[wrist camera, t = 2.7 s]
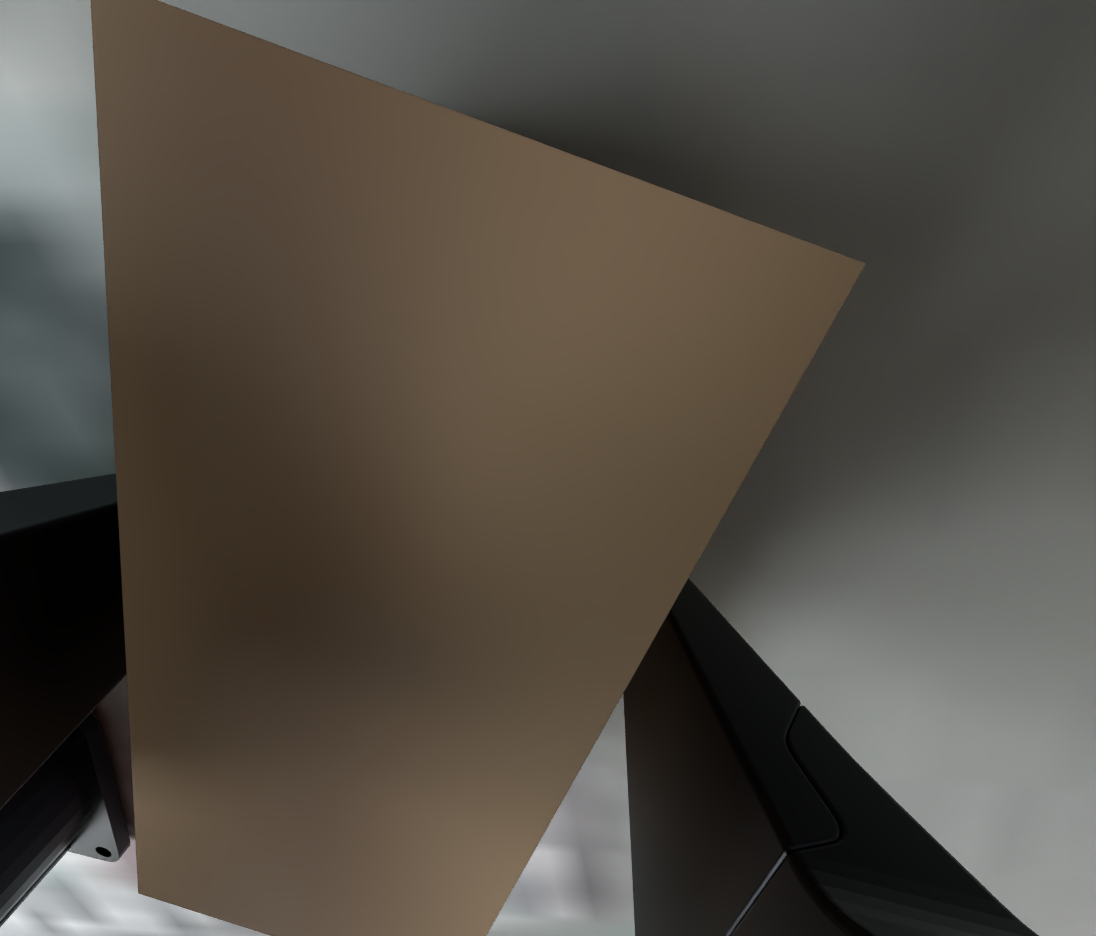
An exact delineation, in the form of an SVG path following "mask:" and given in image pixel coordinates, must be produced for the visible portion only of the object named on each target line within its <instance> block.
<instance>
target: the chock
mask: <svg viewBox="0 0 1096 936" xmlns="http://www.w3.org/2000/svg"><path fill="white" fill-rule="evenodd" d="M91 15H92V34H93V53H94V72H95V90H96V109H97V128H98V146H99V165H100V184H101V203H102V221H103V240H104V259H105V277H106V296H107V315H108V334H109V352H110V371H111V390H112V408H113V427H114V446H115V465H116V483H117V502H118V521H119V539H120V558H121V577H122V596H123V614H124V633H125V652H126V670H127V689H128V708H129V727H130V745H131V764H132V783H133V802H134V820H135V839H136V858H137V876H138V893H139V894H142V895H145V896H148V897H152V898H155V899H158V900H161V901H164V902H167V903H170V904H173V905H177V906H180V907H183V908H186V909H189V910H192V911H195V912H199V913H202V914H205V915H208V916H211V917H214V918H217V919H220V920H224V921H227V922H230V923H233V924H236V925H239V926H242V927H246V928H249V929H252V930H255V931H258V932H261V933H264V934H267V935H271V936H486V935H487V933H488V932H489V930H490V928H491V926H492V925H493V923H494V921H495V919H496V918H497V916H498V914H499V912H500V910H501V909H502V907H503V905H504V903H505V902H506V900H507V898H508V896H509V895H510V893H511V891H512V889H513V887H514V886H515V884H516V882H517V880H518V879H519V877H520V875H521V873H522V871H523V870H524V868H525V866H526V864H527V863H528V861H529V859H530V857H531V856H532V854H533V852H534V850H535V848H536V847H537V845H538V843H539V841H540V840H541V838H542V836H543V834H544V833H545V831H546V829H547V827H548V825H549V824H550V822H551V820H552V818H553V817H554V815H555V813H556V811H557V810H558V808H559V806H560V804H561V802H562V801H563V799H564V797H565V795H566V794H567V792H568V790H569V788H570V787H571V785H572V783H573V781H574V779H575V778H576V776H577V774H578V772H579V771H580V769H581V767H582V765H583V763H584V762H585V760H586V758H587V756H588V755H589V753H590V751H591V749H592V748H593V746H594V744H595V742H596V740H597V739H598V737H599V735H600V733H601V732H602V730H603V728H604V726H605V725H606V723H607V721H608V719H609V717H610V716H611V714H612V712H613V710H614V709H615V707H616V705H617V703H618V702H619V700H620V698H621V696H622V694H623V693H624V691H625V689H626V687H627V686H628V684H629V682H630V680H631V679H632V677H633V675H634V673H635V671H636V670H637V668H638V666H639V664H640V663H641V661H642V659H643V657H644V656H645V654H646V652H647V650H648V648H649V647H650V645H651V643H652V641H653V640H654V638H655V636H656V634H657V632H658V631H659V629H660V627H661V625H662V624H663V622H664V620H665V618H666V617H667V615H668V613H669V611H670V609H671V608H672V606H673V604H674V602H675V601H676V599H677V597H678V595H679V594H680V592H681V590H682V588H683V586H684V585H685V583H686V581H687V579H688V578H689V576H690V574H691V572H692V571H693V569H694V567H695V565H696V563H697V562H698V560H699V558H700V556H701V555H702V553H703V551H704V549H705V548H706V546H707V544H708V542H709V540H710V539H711V537H712V535H713V533H714V532H715V530H716V528H717V526H718V524H719V523H720V521H721V519H722V517H723V516H724V514H725V512H726V510H727V509H728V507H729V505H730V503H731V501H732V500H733V498H734V496H735V494H736V493H737V491H738V489H739V487H740V486H741V484H742V482H743V480H744V478H745V477H746V475H747V473H748V471H749V470H750V468H751V466H752V464H753V463H754V461H755V459H756V457H757V455H758V454H759V452H760V450H761V448H762V447H763V445H764V443H765V441H766V440H767V438H768V436H769V434H770V432H771V431H772V429H773V427H774V425H775V424H776V422H777V420H778V418H779V417H780V415H781V413H782V411H783V409H784V408H785V406H786V404H787V402H788V401H789V399H790V397H791V395H792V393H793V392H794V390H795V388H796V386H797V385H798V383H799V381H800V379H801V378H802V376H803V374H804V372H805V370H806V369H807V367H808V365H809V363H810V362H811V360H812V358H813V356H814V355H815V353H816V351H817V349H818V347H819V346H820V344H821V342H822V340H823V339H824V337H825V335H826V333H827V332H828V330H829V328H830V326H831V324H832V323H833V321H834V319H835V317H836V316H837V314H838V312H839V310H840V309H841V307H842V305H843V303H844V301H845V300H846V298H847V296H848V294H849V293H850V291H851V289H852V287H853V285H854V284H855V282H856V280H857V278H858V277H859V275H860V273H861V271H862V270H863V268H864V266H865V264H866V263H863V262H860V261H858V260H855V259H852V258H850V257H847V256H844V255H842V254H839V253H836V252H834V251H831V250H828V249H825V248H823V247H820V246H817V245H815V244H812V243H809V242H807V241H804V240H801V239H799V238H796V237H793V236H790V235H788V234H785V233H782V232H780V231H777V230H774V229H772V228H769V227H766V226H764V225H761V224H758V223H755V222H753V221H750V220H747V219H745V218H742V217H739V216H737V215H734V214H731V213H729V212H726V211H723V210H720V209H718V208H715V207H712V206H710V205H707V204H704V203H702V202H699V201H696V200H694V199H691V198H688V197H685V196H683V195H680V194H677V193H675V192H672V191H669V190H667V189H664V188H661V187H659V186H656V185H653V184H650V183H648V182H645V181H642V180H640V179H637V178H634V177H632V176H629V175H626V174H624V173H621V172H618V171H615V170H613V169H610V168H607V167H605V166H602V165H599V164H597V163H594V162H591V161H589V160H586V159H583V158H580V157H578V156H575V155H572V154H570V153H567V152H564V151H562V150H559V149H556V148H554V147H551V146H548V145H545V144H543V143H540V142H537V141H535V140H532V139H529V138H527V137H524V136H521V135H519V134H516V133H513V132H510V131H508V130H505V129H502V128H500V127H497V126H494V125H492V124H489V123H486V122H484V121H481V120H478V119H475V118H473V117H470V116H467V115H465V114H462V113H459V112H457V111H454V110H451V109H449V108H446V107H443V106H440V105H438V104H435V103H432V102H430V101H427V100H424V99H422V98H419V97H416V96H414V95H411V94H408V93H405V92H403V91H400V90H397V89H395V88H392V87H389V86H387V85H384V84H381V83H379V82H376V81H373V80H370V79H368V78H365V77H362V76H360V75H357V74H354V73H352V72H349V71H346V70H344V69H341V68H338V67H335V66H333V65H330V64H327V63H325V62H322V61H319V60H317V59H314V58H311V57H309V56H306V55H303V54H300V53H298V52H295V51H292V50H290V49H287V48H284V47H282V46H279V45H276V44H274V43H271V42H268V41H265V40H263V39H260V38H257V37H255V36H252V35H249V34H247V33H244V32H241V31H239V30H236V29H233V28H230V27H228V26H225V25H222V24H220V23H217V22H214V21H212V20H209V19H206V18H204V17H201V16H198V15H195V14H193V13H190V12H187V11H185V10H182V9H179V8H177V7H174V6H171V5H169V4H166V3H163V2H160V1H158V0H91Z"/></svg>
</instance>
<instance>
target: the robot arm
mask: <svg viewBox="0 0 1096 936" xmlns="http://www.w3.org/2000/svg"><path fill="white" fill-rule="evenodd" d="M126 674H127V670H126V652H125V633H124V614H123V596H122V577H121V558H120V539H119V521H118V502H117V483H116V474H110V475H104V476H98V477H91V478H85V479H79V480H73V481H67V482H60V483H54V484H48V485H42V486H35V487H29V488H23V489H17V490H11V491H4V492H0V927H1V926H2V925H3V923H4V922H5V921H6V920H7V919H8V918H9V917H10V915H11V914H12V913H13V912H14V911H15V910H16V909H17V908H18V906H19V905H20V904H21V903H22V902H23V901H24V900H25V899H26V897H27V896H28V895H29V894H30V893H31V892H32V891H33V889H34V888H35V887H36V886H37V885H38V884H39V883H40V882H41V880H42V879H43V878H44V877H45V876H46V875H47V874H48V873H49V871H50V870H51V869H52V868H53V867H54V866H55V865H56V863H57V862H58V861H59V860H60V859H61V858H62V857H63V856H64V854H65V853H66V852H67V851H69V852H73V853H77V854H81V855H85V856H88V857H92V858H96V859H100V860H104V861H109V862H115V861H117V860H119V859H120V857H121V856H122V855H123V853H124V852H125V851H126V850H127V848H128V847H129V846H130V839H129V835H128V831H127V827H126V823H125V819H124V815H123V811H122V808H121V804H120V800H119V796H118V792H117V788H116V784H115V780H114V776H113V772H112V768H111V764H110V760H109V757H108V753H107V749H106V745H105V741H104V737H103V733H102V729H101V725H100V723H99V721H98V719H97V718H96V717H95V716H94V715H93V714H92V713H91V712H92V711H93V710H94V708H95V707H96V706H97V705H98V704H99V703H100V702H101V701H102V700H103V699H104V698H105V697H106V696H107V695H108V693H109V692H110V691H111V690H112V689H113V688H114V687H115V686H116V685H117V684H118V683H119V682H120V681H121V680H122V678H123V677H124V676H125V675H126ZM623 694H624V716H625V737H626V757H627V777H628V798H629V818H630V838H631V859H632V879H633V900H634V920H635V936H1038V935H1037V934H1036V933H1035V932H1033V931H1032V930H1031V929H1030V928H1028V927H1027V926H1026V925H1025V924H1023V923H1022V922H1021V921H1020V920H1019V919H1018V918H1017V917H1015V916H1014V915H1013V914H1012V913H1011V912H1010V911H1009V910H1008V909H1007V908H1006V907H1005V906H1004V905H1002V904H1001V903H1000V902H999V901H998V900H997V899H996V898H995V897H994V896H993V895H992V894H991V893H990V892H989V891H988V890H987V889H986V888H985V887H984V886H983V885H982V884H981V883H980V882H979V881H978V880H977V879H976V878H975V877H973V876H972V875H971V874H970V873H969V872H968V871H967V870H966V869H965V868H964V867H963V866H962V865H961V864H960V863H959V862H958V861H957V860H956V859H955V858H954V857H953V856H952V855H951V854H950V853H949V852H948V851H947V850H946V849H945V848H944V847H943V846H942V845H941V844H939V843H938V842H937V841H936V840H935V839H934V838H933V837H932V836H931V835H930V834H929V833H928V832H927V831H926V830H925V829H924V828H923V827H922V826H921V825H920V824H919V823H918V822H917V821H916V820H915V819H914V818H913V817H912V816H911V815H910V814H909V813H908V812H906V811H905V810H904V809H903V808H902V807H901V806H900V805H899V804H898V803H897V802H896V801H895V800H894V799H893V798H892V797H891V796H890V795H889V794H888V793H887V792H886V791H885V790H884V789H883V788H882V787H881V786H880V785H879V784H878V783H877V782H876V781H875V780H874V779H873V778H872V777H871V776H870V775H869V774H868V773H867V772H866V771H865V770H864V769H863V768H862V767H861V766H860V765H859V764H858V763H857V762H856V761H855V760H854V759H853V758H852V757H851V756H850V755H849V754H848V752H847V751H846V750H845V749H844V748H843V747H842V746H841V745H840V744H839V743H838V742H837V741H836V740H835V739H834V738H833V737H832V735H831V734H830V733H829V732H828V731H827V730H826V729H825V728H824V727H823V726H822V725H821V724H820V722H819V721H818V720H817V719H816V718H815V717H814V716H813V715H812V714H811V713H810V711H809V710H808V709H807V708H806V707H805V706H800V705H801V703H800V701H799V700H798V698H797V697H796V696H795V695H794V694H793V693H792V692H791V691H790V690H789V688H788V687H787V686H786V685H785V684H784V683H783V682H782V681H781V680H780V679H779V677H778V676H777V675H776V674H775V673H774V672H773V671H772V670H771V669H770V668H769V666H768V665H767V664H766V663H765V662H764V661H763V660H762V659H761V658H760V656H759V655H758V654H757V653H756V652H755V651H754V650H753V649H752V648H751V647H750V645H749V644H748V643H747V642H746V641H745V640H744V639H743V638H742V637H741V635H740V634H739V633H738V632H737V631H736V630H735V629H734V628H733V627H732V626H731V624H730V623H729V622H728V621H727V620H726V619H725V618H724V617H723V616H722V614H721V613H720V612H719V611H718V610H717V609H716V608H715V607H714V606H713V605H712V603H711V602H710V601H709V600H708V599H707V598H706V597H705V596H704V595H703V594H702V592H701V591H700V590H699V589H698V588H697V587H696V586H695V585H694V584H693V582H692V581H691V580H690V579H689V578H688V579H687V581H686V583H685V585H684V586H683V588H682V590H681V592H680V594H679V595H678V597H677V599H676V601H675V602H674V604H673V606H672V608H671V609H670V611H669V613H668V615H667V617H666V618H665V620H664V622H663V624H662V625H661V627H660V629H659V631H658V632H657V634H656V636H655V638H654V640H653V641H652V643H651V645H650V647H649V648H648V650H647V652H646V654H645V656H644V657H643V659H642V661H641V663H640V664H639V666H638V668H637V670H636V671H635V673H634V675H633V677H632V679H631V680H630V682H629V684H628V686H627V687H626V689H625V691H624V693H623Z"/></svg>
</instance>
